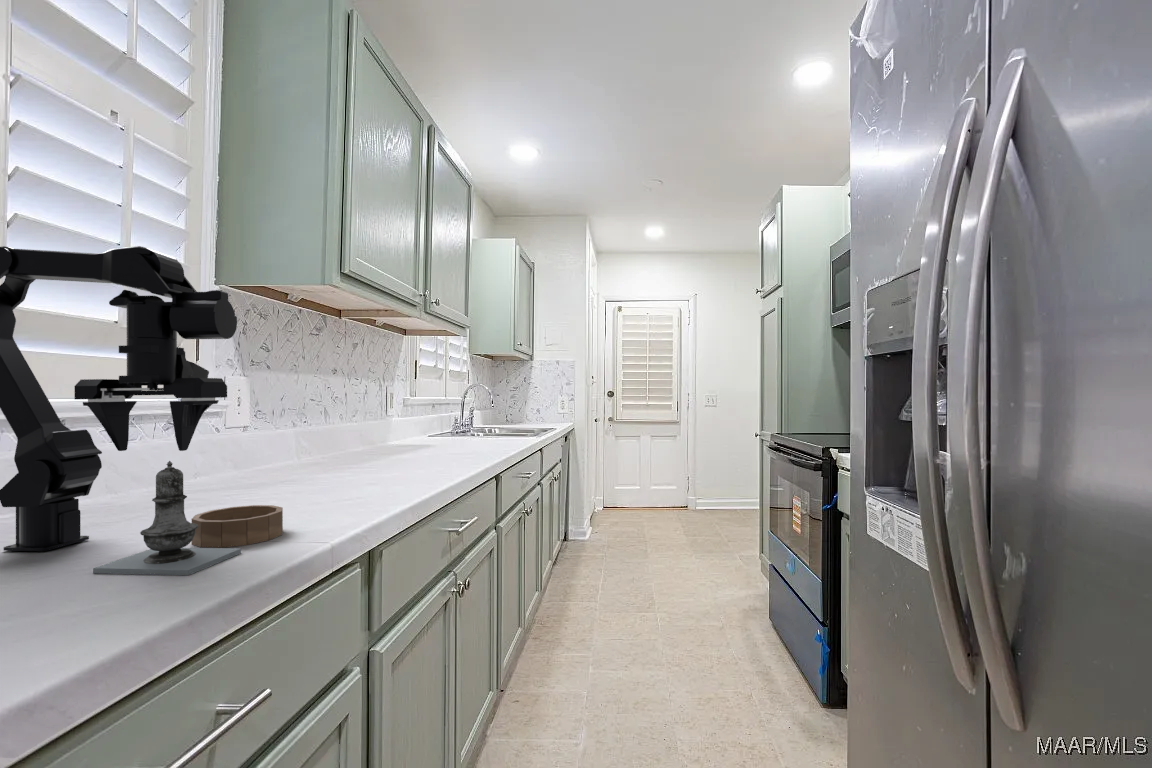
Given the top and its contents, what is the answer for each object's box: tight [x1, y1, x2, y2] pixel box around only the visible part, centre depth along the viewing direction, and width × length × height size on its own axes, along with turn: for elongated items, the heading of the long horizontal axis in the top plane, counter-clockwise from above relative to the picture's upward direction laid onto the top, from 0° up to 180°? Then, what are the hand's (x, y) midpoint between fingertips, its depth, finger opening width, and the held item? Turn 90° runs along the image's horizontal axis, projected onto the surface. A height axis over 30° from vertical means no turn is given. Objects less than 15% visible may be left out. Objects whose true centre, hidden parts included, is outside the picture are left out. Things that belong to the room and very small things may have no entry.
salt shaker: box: [139, 460, 198, 564], centre depth 72 cm, size 6×6×12 cm
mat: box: [92, 547, 242, 576], centre depth 71 cm, size 12×9×1 cm
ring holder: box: [191, 504, 284, 548], centre depth 84 cm, size 11×11×4 cm
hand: (152, 450), depth 81 cm, fingers open, 9 cm apart
